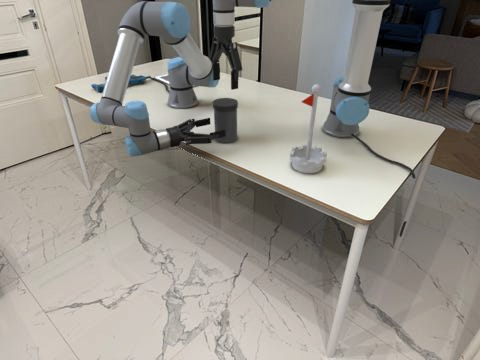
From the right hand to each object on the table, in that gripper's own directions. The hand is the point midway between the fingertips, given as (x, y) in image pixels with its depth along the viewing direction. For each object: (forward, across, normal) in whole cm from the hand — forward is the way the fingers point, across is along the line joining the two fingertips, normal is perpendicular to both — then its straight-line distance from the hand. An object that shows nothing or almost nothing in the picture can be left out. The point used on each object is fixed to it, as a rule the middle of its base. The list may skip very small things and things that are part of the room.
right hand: (225, 84), depth 132 cm
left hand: (+16, -1, +5) cm, 17 cm away
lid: (+7, -1, +1) cm, 7 cm away
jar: (+23, -1, +1) cm, 23 cm away
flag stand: (+22, -37, -12) cm, 45 cm away
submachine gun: (+23, +99, +16) cm, 103 cm away
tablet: (+23, +84, -18) cm, 89 cm away
